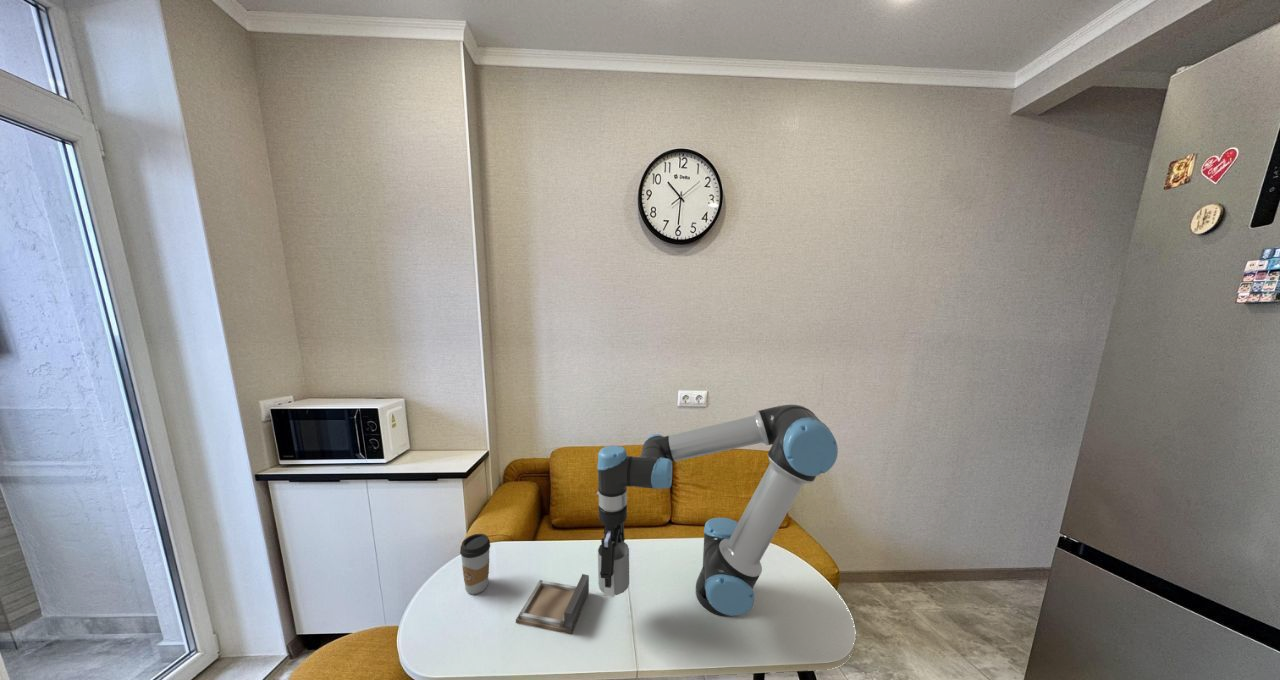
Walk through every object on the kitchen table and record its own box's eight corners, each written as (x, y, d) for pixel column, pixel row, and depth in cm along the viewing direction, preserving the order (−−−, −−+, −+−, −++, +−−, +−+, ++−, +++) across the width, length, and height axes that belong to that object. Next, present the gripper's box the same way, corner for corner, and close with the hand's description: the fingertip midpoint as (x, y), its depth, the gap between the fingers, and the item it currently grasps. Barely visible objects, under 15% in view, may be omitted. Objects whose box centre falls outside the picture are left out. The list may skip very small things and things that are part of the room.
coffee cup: (455, 592, 113) (453, 546, 111) (476, 573, 121) (475, 529, 119) (476, 601, 110) (475, 554, 108) (497, 581, 117) (496, 536, 116)
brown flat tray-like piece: (588, 593, 114) (588, 575, 113) (571, 634, 100) (571, 614, 99) (539, 584, 117) (539, 566, 116) (515, 622, 103) (515, 603, 102)
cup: (624, 597, 99) (624, 562, 97) (594, 592, 100) (593, 558, 99) (632, 574, 107) (631, 541, 106) (604, 570, 108) (603, 537, 107)
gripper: (610, 483, 112) (611, 554, 115) (585, 527, 91) (588, 612, 94) (634, 486, 110) (635, 557, 113) (616, 530, 90) (617, 616, 92)
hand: (613, 582), depth 103 cm, fingers closed on cup, 8 cm apart
